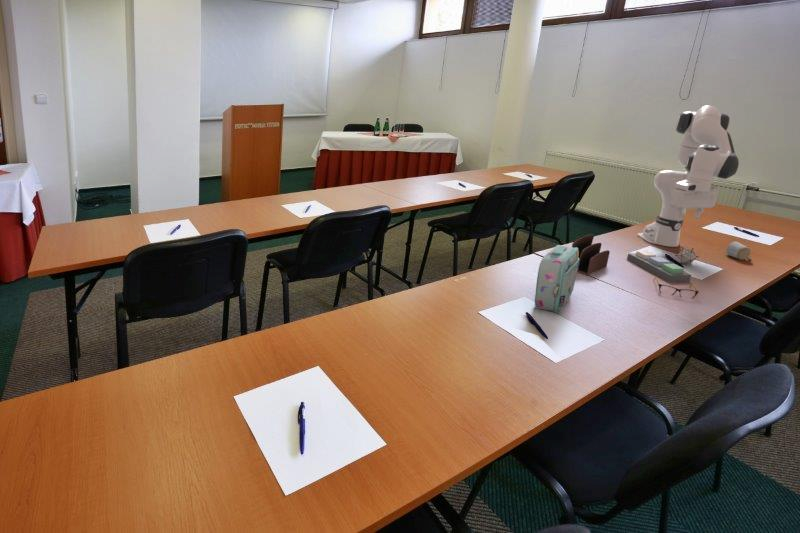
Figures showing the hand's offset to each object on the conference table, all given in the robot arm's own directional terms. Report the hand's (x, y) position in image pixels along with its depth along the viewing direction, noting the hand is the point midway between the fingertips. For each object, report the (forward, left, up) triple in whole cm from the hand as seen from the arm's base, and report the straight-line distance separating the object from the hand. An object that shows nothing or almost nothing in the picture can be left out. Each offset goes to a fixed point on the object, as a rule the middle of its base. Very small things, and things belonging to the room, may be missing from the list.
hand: (688, 217), depth 197 cm
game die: (-15, +21, -27) cm, 37 cm away
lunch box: (+20, -70, -28) cm, 78 cm away
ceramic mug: (-22, +61, -28) cm, 70 cm away
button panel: (-9, 0, -27) cm, 29 cm away
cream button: (-17, 0, -25) cm, 31 cm away
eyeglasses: (+13, -10, -28) cm, 32 cm away
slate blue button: (-9, 0, -25) cm, 27 cm away
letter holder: (-13, -34, -28) cm, 45 cm away
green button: (0, 0, -25) cm, 25 cm away
